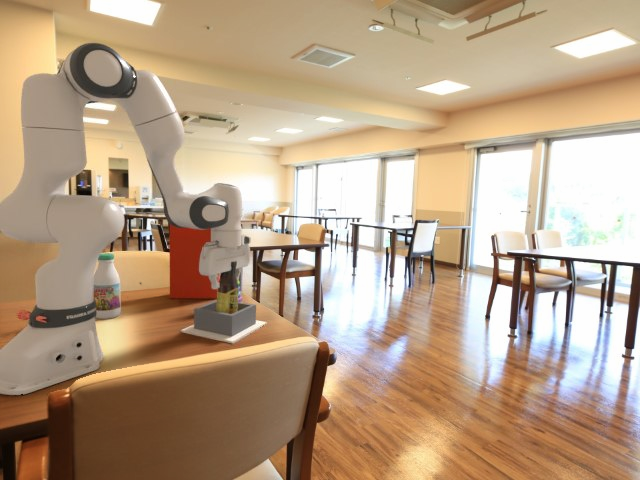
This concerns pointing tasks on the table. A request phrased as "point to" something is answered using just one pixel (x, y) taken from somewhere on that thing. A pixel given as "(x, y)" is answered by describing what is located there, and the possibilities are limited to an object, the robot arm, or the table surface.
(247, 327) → the mount collar
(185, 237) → the tall red box
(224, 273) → the sauce bottle
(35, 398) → the table surface
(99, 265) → the milk bottle
